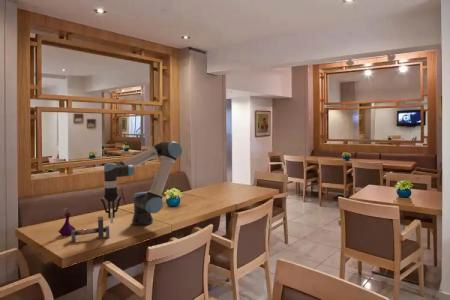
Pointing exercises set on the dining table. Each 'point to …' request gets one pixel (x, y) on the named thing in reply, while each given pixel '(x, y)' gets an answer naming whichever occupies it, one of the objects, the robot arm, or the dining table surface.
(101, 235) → the collar
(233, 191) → the dining table surface
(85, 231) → the pipe stand
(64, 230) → the perfume bottle
